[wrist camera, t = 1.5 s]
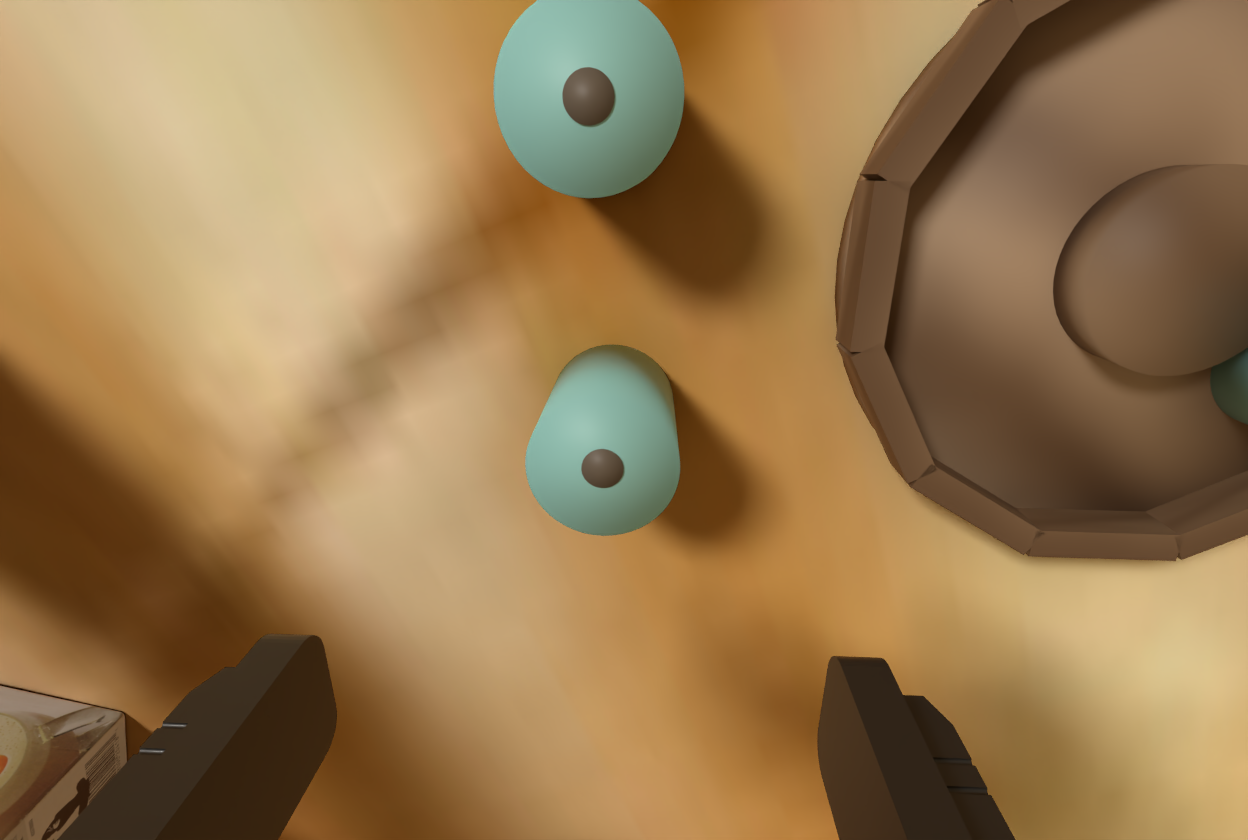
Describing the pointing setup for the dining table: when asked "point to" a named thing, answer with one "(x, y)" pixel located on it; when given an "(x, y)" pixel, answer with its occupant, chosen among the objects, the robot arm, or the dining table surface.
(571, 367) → the bead
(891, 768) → the robot arm
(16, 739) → the coffee box
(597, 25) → the bead
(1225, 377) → the bead
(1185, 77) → the ring tray
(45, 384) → the dining table surface
